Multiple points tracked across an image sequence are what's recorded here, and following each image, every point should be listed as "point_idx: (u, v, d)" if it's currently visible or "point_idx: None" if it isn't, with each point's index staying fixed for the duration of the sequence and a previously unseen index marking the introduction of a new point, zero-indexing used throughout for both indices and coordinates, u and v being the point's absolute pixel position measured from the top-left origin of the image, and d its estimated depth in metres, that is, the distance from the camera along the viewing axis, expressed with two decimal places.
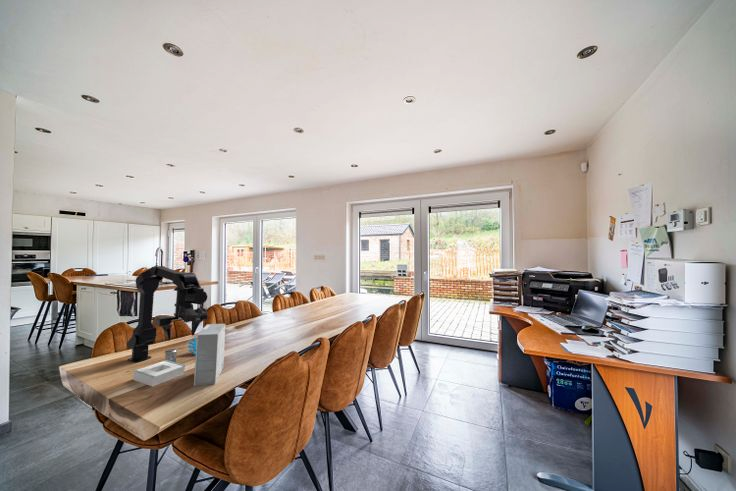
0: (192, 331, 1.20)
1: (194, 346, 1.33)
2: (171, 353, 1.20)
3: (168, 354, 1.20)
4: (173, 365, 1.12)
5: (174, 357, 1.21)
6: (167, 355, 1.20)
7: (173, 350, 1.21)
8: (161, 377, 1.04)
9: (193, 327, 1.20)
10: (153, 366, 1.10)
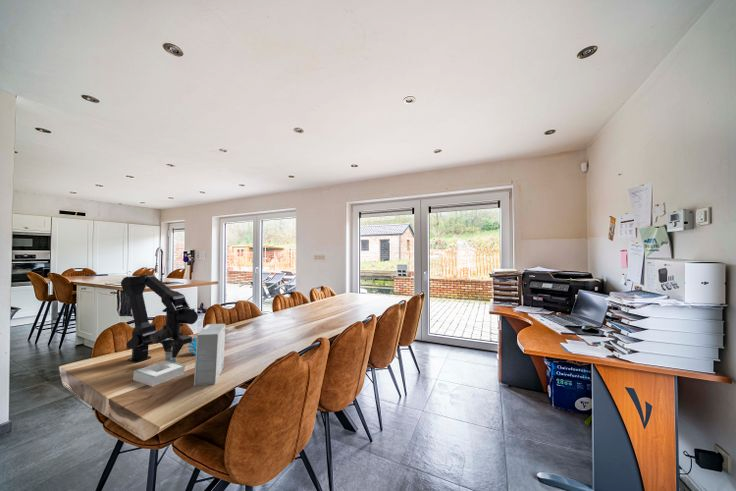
0: None
1: (194, 346, 1.34)
2: (171, 353, 1.20)
3: (168, 354, 1.20)
4: (173, 365, 1.12)
5: None
6: (167, 355, 1.20)
7: None
8: (161, 377, 1.04)
9: None
10: (153, 366, 1.10)
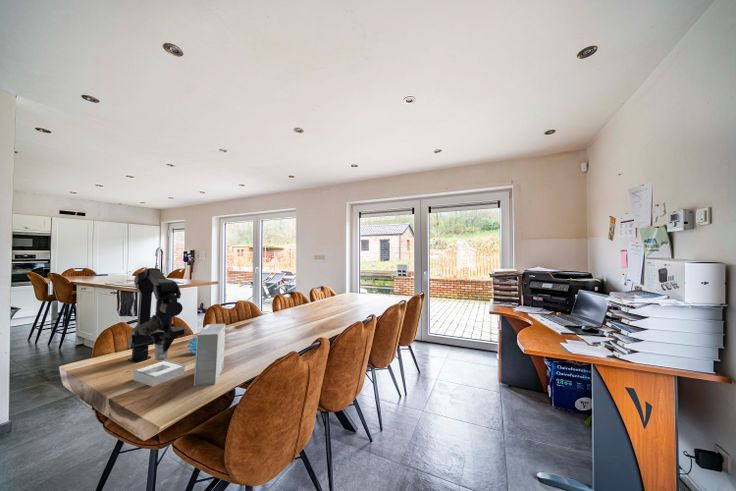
0: None
1: (194, 346, 1.34)
2: (162, 346, 1.08)
3: (158, 347, 1.07)
4: (173, 365, 1.12)
5: None
6: (157, 348, 1.07)
7: None
8: (161, 377, 1.04)
9: None
10: (153, 366, 1.10)
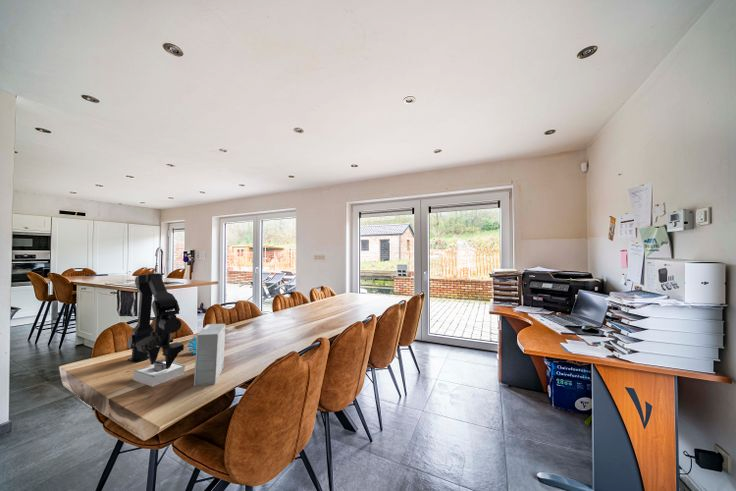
0: None
1: (194, 345, 1.34)
2: (160, 365, 1.07)
3: (157, 366, 1.07)
4: (173, 365, 1.12)
5: None
6: (155, 367, 1.07)
7: (163, 362, 1.09)
8: (161, 377, 1.04)
9: None
10: (153, 366, 1.10)
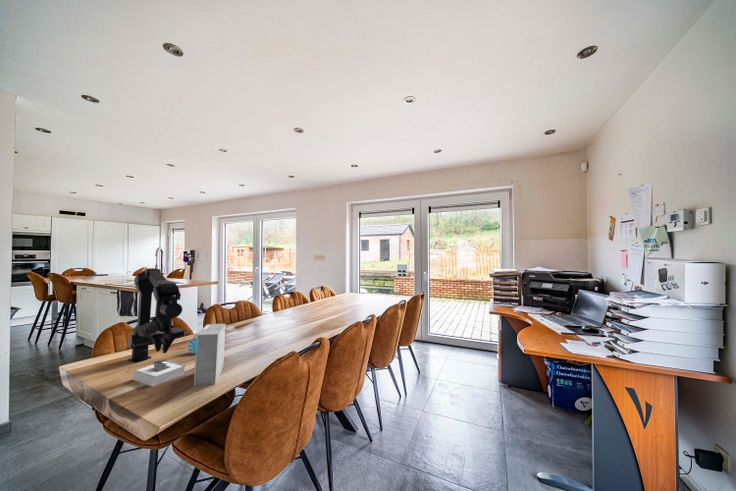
0: None
1: (194, 345, 1.34)
2: (160, 365, 1.07)
3: (157, 366, 1.07)
4: (173, 365, 1.12)
5: None
6: (155, 367, 1.07)
7: (163, 362, 1.09)
8: (161, 377, 1.04)
9: None
10: (153, 366, 1.10)
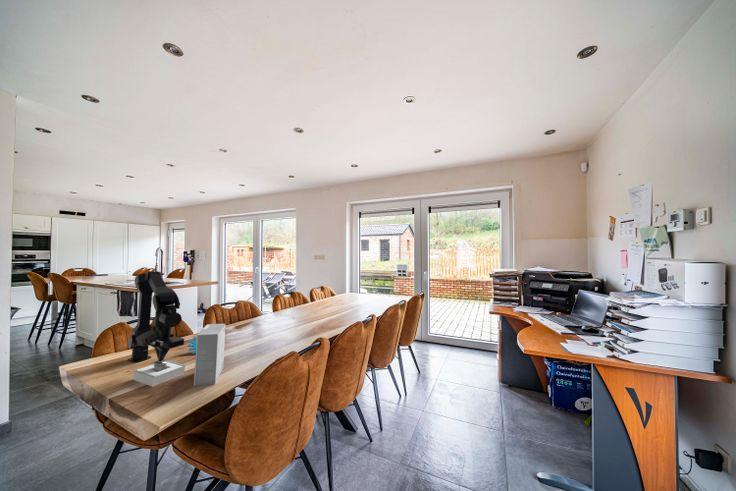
0: None
1: (194, 345, 1.34)
2: (160, 365, 1.07)
3: (157, 366, 1.07)
4: (173, 365, 1.12)
5: None
6: (155, 367, 1.07)
7: (163, 362, 1.09)
8: (161, 377, 1.04)
9: None
10: (153, 366, 1.10)
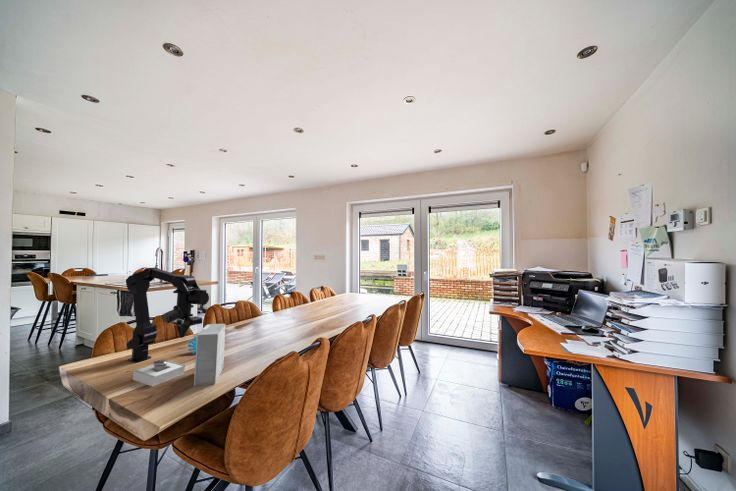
0: None
1: (194, 345, 1.35)
2: (160, 365, 1.07)
3: (157, 366, 1.07)
4: (173, 365, 1.12)
5: None
6: (155, 367, 1.07)
7: (163, 362, 1.09)
8: (161, 377, 1.04)
9: None
10: (153, 366, 1.10)
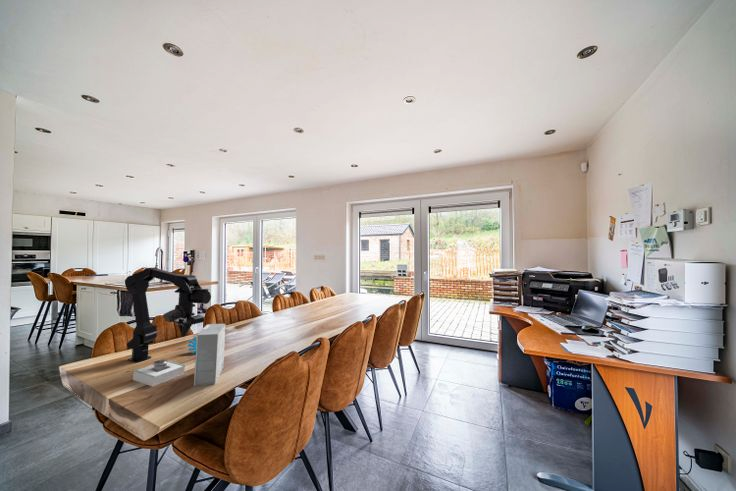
0: None
1: (194, 345, 1.35)
2: (160, 365, 1.07)
3: (157, 366, 1.07)
4: (173, 365, 1.12)
5: None
6: (155, 367, 1.07)
7: (163, 362, 1.09)
8: (161, 377, 1.04)
9: None
10: (153, 366, 1.10)
